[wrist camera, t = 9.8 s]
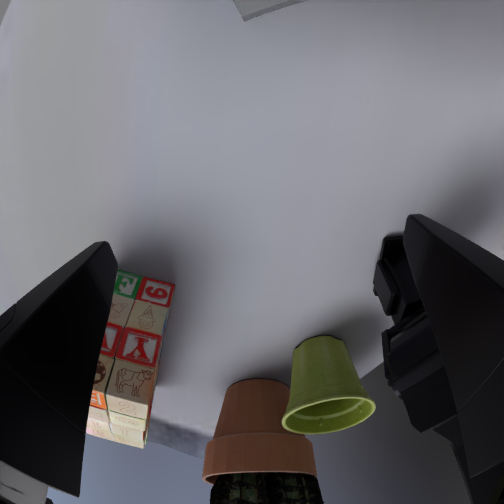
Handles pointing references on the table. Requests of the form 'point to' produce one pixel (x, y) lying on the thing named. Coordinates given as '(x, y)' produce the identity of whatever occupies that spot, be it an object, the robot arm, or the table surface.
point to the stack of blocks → (129, 360)
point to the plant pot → (325, 389)
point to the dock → (261, 6)
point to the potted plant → (259, 450)
